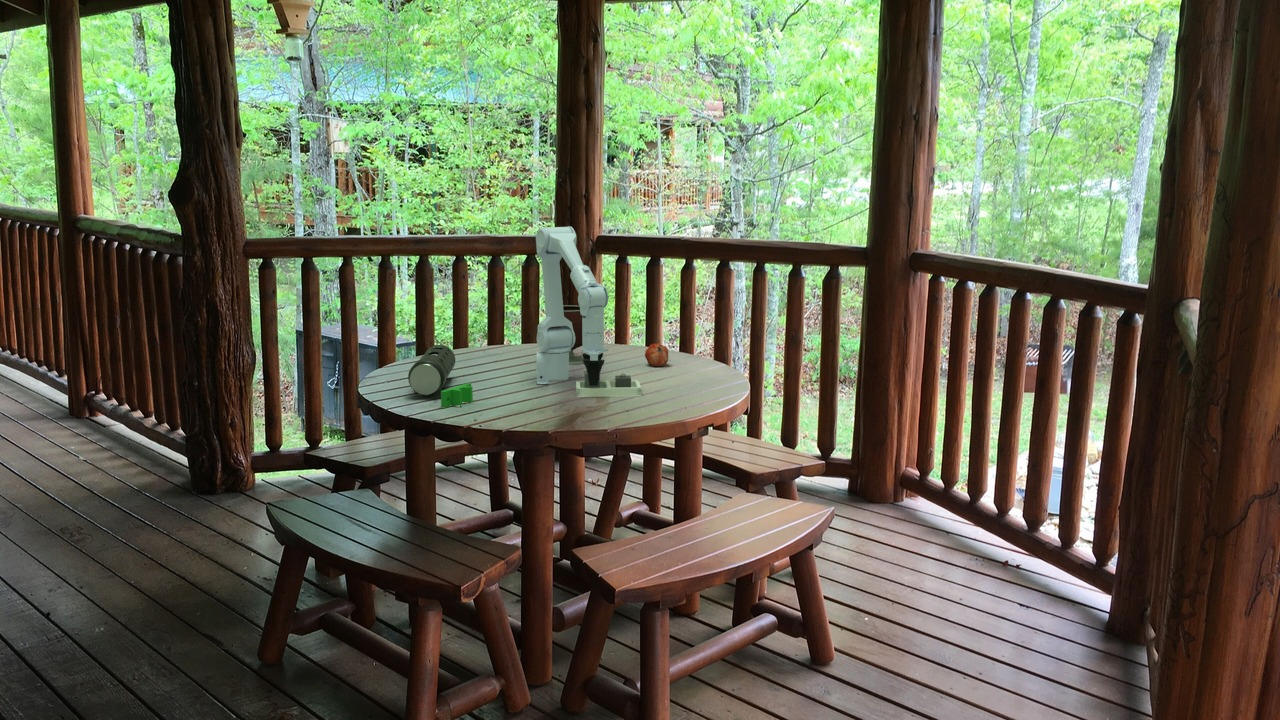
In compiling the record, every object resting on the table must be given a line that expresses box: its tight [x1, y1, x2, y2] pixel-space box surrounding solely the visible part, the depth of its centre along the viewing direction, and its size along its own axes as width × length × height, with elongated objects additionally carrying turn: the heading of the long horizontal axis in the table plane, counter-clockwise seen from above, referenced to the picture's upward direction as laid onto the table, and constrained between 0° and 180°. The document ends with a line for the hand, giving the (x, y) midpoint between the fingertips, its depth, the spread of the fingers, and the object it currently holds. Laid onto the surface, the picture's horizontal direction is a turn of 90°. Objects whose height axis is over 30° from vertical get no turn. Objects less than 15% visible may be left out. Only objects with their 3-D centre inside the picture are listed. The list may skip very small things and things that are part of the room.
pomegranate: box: [644, 342, 669, 367], centre depth 303 cm, size 7×7×10 cm
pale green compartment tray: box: [575, 379, 642, 398], centre depth 260 cm, size 17×11×3 cm, turn 94°
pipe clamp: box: [440, 383, 474, 408], centre depth 250 cm, size 11×4×5 cm, turn 153°
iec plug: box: [583, 368, 601, 388], centre depth 260 cm, size 4×4×7 cm
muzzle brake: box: [407, 344, 456, 396], centre depth 268 cm, size 10×28×10 cm, turn 4°
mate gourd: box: [543, 300, 585, 366], centre depth 307 cm, size 16×14×20 cm
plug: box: [614, 373, 632, 388], centre depth 260 cm, size 4×4×5 cm
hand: (593, 382), depth 260 cm, fingers open, 7 cm apart
